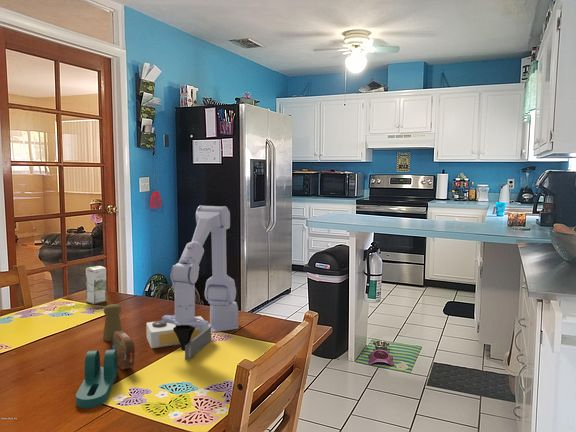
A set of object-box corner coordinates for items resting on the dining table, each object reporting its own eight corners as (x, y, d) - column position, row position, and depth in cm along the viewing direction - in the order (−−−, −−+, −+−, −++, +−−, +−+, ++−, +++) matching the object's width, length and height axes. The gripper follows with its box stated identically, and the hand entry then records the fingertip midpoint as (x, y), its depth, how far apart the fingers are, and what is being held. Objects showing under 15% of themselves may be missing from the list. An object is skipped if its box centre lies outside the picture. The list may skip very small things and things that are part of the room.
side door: (208, 339, 148) (208, 326, 147) (213, 340, 147) (213, 326, 147) (184, 360, 132) (184, 345, 131) (189, 360, 131) (189, 345, 131)
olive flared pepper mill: (116, 341, 146) (115, 308, 145) (99, 340, 147) (98, 306, 146) (126, 335, 151) (125, 302, 150) (110, 333, 153) (109, 301, 152)
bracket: (91, 375, 122) (90, 347, 121) (118, 373, 123) (117, 345, 123) (72, 410, 104) (71, 376, 104) (103, 407, 106) (102, 374, 105)
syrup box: (98, 299, 193) (97, 265, 192) (107, 301, 190) (106, 267, 189) (86, 302, 189) (85, 267, 187) (94, 304, 185) (93, 269, 184)
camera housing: (200, 330, 157) (200, 314, 157) (209, 340, 148) (209, 323, 147) (146, 337, 150) (146, 320, 149) (151, 349, 140) (151, 331, 140)
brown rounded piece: (110, 355, 135) (109, 328, 134) (120, 353, 137) (120, 326, 136) (125, 374, 123) (124, 344, 122) (136, 371, 125) (136, 341, 124)
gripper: (155, 304, 132) (155, 350, 133) (198, 311, 126) (198, 358, 128) (170, 298, 138) (170, 342, 139) (211, 304, 133) (211, 349, 134)
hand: (184, 349), depth 134 cm, fingers closed
